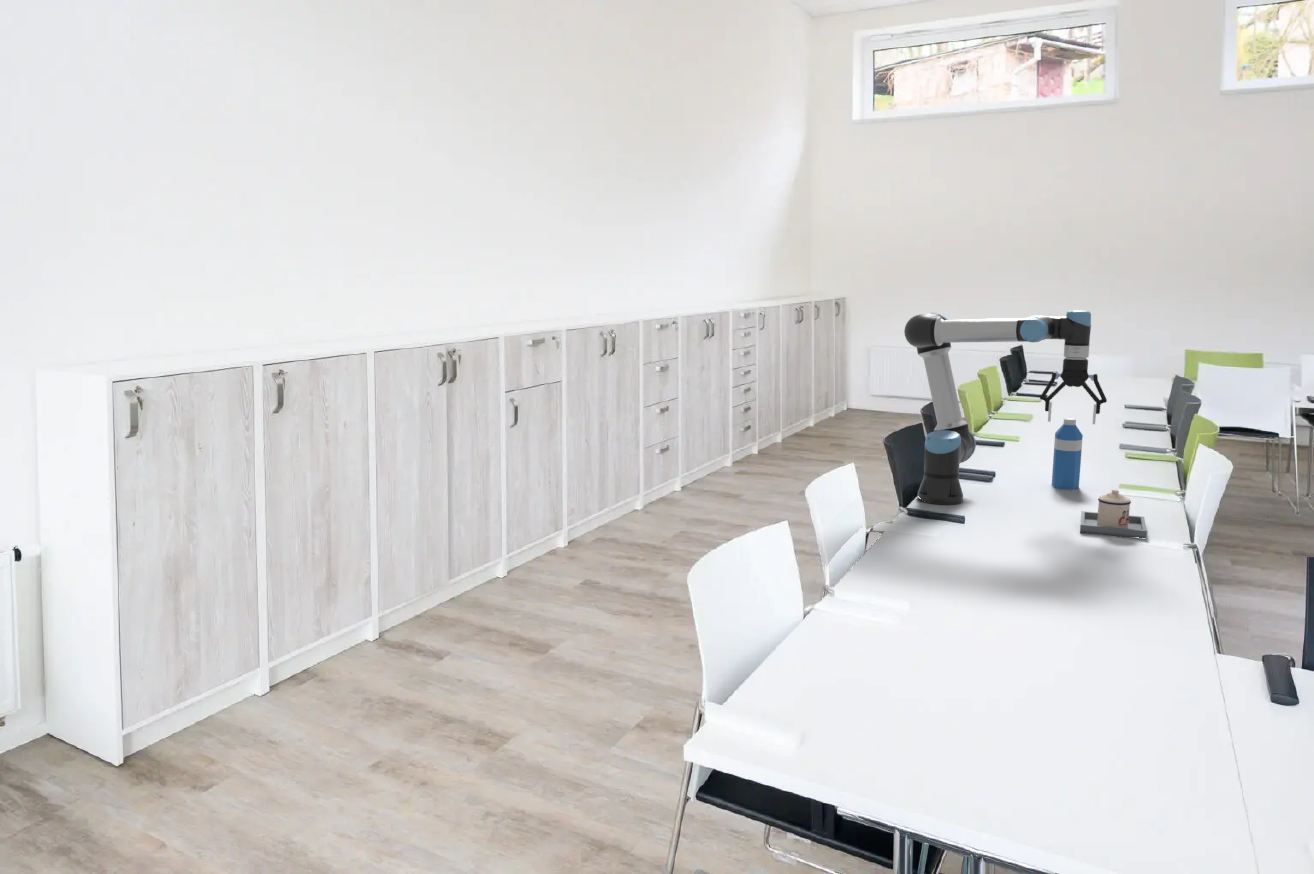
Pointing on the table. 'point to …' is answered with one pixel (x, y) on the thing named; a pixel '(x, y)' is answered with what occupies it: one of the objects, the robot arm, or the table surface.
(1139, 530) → the tray
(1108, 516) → the teacup with lid
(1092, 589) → the table surface
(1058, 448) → the water bottle
